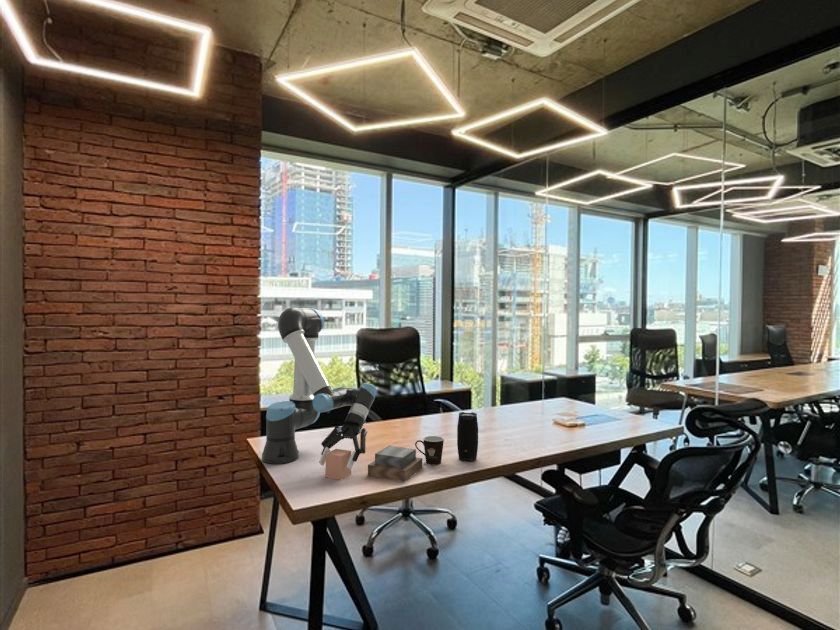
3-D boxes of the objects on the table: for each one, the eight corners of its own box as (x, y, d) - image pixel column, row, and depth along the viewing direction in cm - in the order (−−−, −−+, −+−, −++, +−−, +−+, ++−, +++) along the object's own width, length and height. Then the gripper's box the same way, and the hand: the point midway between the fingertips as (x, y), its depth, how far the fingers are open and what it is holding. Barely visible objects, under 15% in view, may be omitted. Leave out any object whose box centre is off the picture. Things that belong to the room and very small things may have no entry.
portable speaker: (471, 463, 188) (471, 416, 188) (452, 459, 194) (453, 413, 193) (482, 458, 195) (482, 413, 194) (463, 454, 200) (463, 410, 200)
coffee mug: (447, 462, 189) (448, 438, 189) (434, 467, 183) (434, 442, 183) (426, 456, 197) (427, 433, 197) (413, 461, 191) (413, 437, 191)
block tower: (367, 475, 173) (367, 454, 173) (387, 462, 188) (387, 443, 188) (405, 481, 167) (405, 460, 167) (422, 468, 182) (422, 448, 182)
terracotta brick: (325, 477, 171) (325, 453, 171) (336, 471, 177) (336, 448, 177) (341, 480, 168) (341, 456, 168) (351, 474, 175) (351, 451, 175)
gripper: (385, 425, 182) (365, 475, 168) (335, 419, 192) (312, 466, 178) (379, 415, 177) (358, 465, 163) (328, 409, 187) (304, 457, 173)
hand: (334, 466), depth 170 cm, fingers open, 12 cm apart
